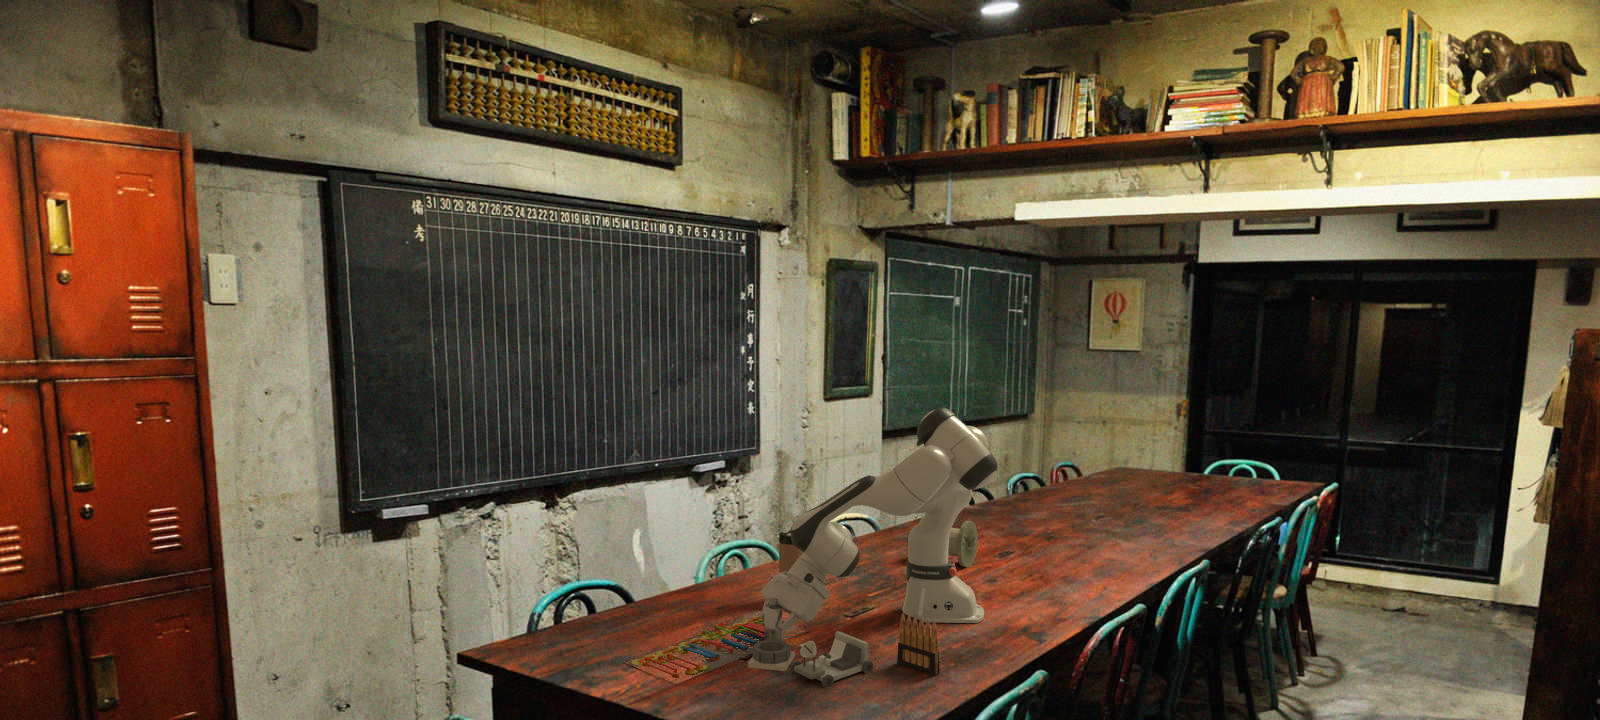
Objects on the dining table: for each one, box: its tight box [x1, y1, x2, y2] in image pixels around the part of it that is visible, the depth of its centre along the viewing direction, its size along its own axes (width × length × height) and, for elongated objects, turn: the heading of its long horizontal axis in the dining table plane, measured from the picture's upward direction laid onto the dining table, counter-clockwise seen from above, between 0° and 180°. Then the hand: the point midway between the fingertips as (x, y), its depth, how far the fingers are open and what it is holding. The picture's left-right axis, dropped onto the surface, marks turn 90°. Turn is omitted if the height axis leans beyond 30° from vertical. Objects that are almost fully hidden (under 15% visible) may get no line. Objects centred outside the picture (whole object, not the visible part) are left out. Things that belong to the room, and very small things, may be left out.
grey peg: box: [764, 598, 783, 641], centre depth 208 cm, size 4×4×12 cm
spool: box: [917, 516, 979, 568], centre depth 286 cm, size 16×15×15 cm
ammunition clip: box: [896, 612, 940, 677], centre depth 195 cm, size 11×2×12 cm, turn 47°
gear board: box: [631, 614, 807, 678], centre depth 209 cm, size 45×2×19 cm
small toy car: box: [789, 631, 874, 689], centre depth 192 cm, size 18×10×12 cm
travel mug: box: [778, 530, 804, 574], centre depth 244 cm, size 8×8×20 cm
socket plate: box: [747, 640, 796, 672], centre depth 199 cm, size 9×9×4 cm
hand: (771, 624), depth 207 cm, fingers open, 8 cm apart
